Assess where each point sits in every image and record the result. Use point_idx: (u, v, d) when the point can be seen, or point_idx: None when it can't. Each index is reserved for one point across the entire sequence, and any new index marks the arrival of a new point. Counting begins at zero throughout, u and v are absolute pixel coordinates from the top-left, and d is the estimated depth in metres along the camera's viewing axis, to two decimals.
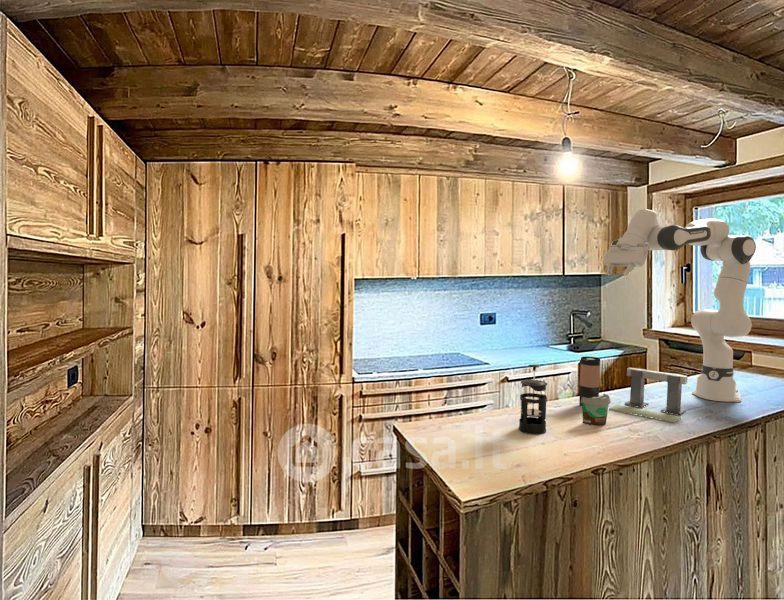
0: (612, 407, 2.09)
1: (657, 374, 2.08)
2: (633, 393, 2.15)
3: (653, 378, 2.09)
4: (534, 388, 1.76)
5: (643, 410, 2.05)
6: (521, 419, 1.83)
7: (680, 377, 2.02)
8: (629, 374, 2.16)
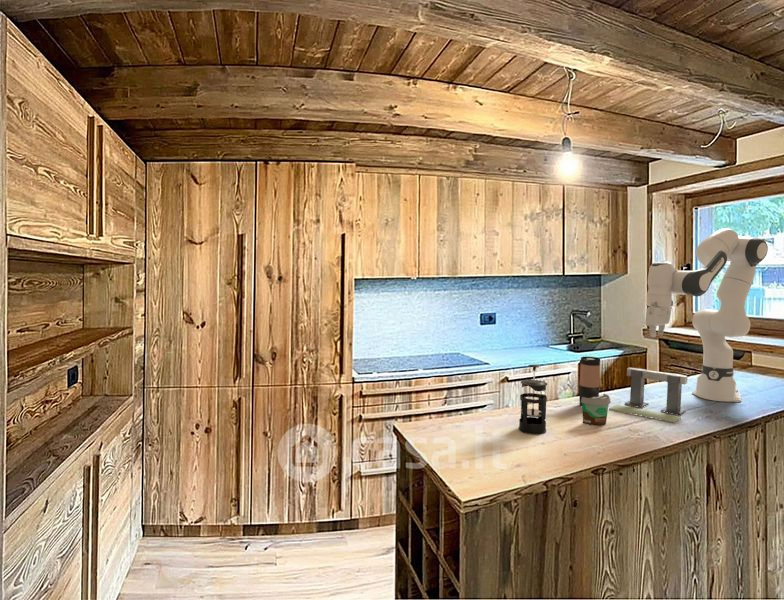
0: (612, 407, 2.09)
1: (657, 374, 2.08)
2: (633, 393, 2.15)
3: (653, 378, 2.09)
4: (534, 388, 1.76)
5: (643, 410, 2.05)
6: (521, 419, 1.83)
7: (680, 377, 2.02)
8: (629, 374, 2.16)
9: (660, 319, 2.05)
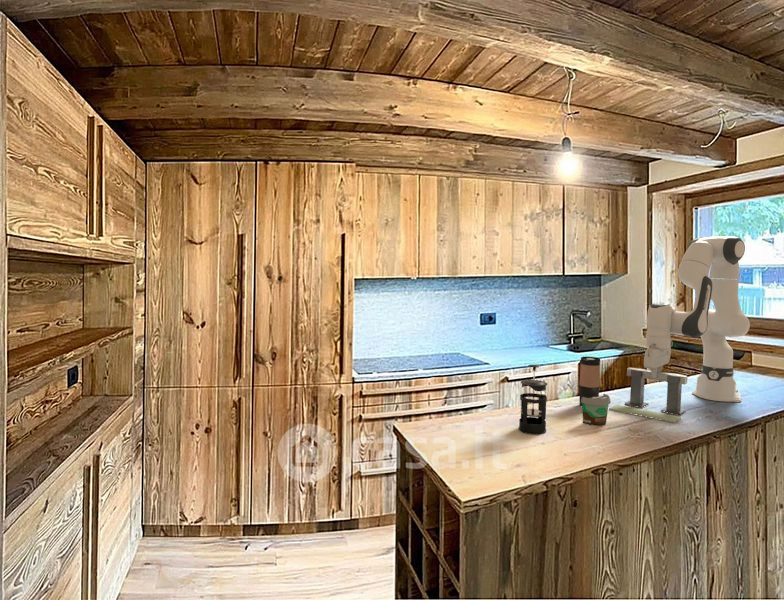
0: (612, 407, 2.09)
1: (657, 374, 2.08)
2: (633, 393, 2.15)
3: (653, 378, 2.09)
4: (534, 388, 1.76)
5: (643, 410, 2.05)
6: (521, 419, 1.83)
7: (680, 377, 2.02)
8: (629, 374, 2.16)
9: (659, 360, 2.06)
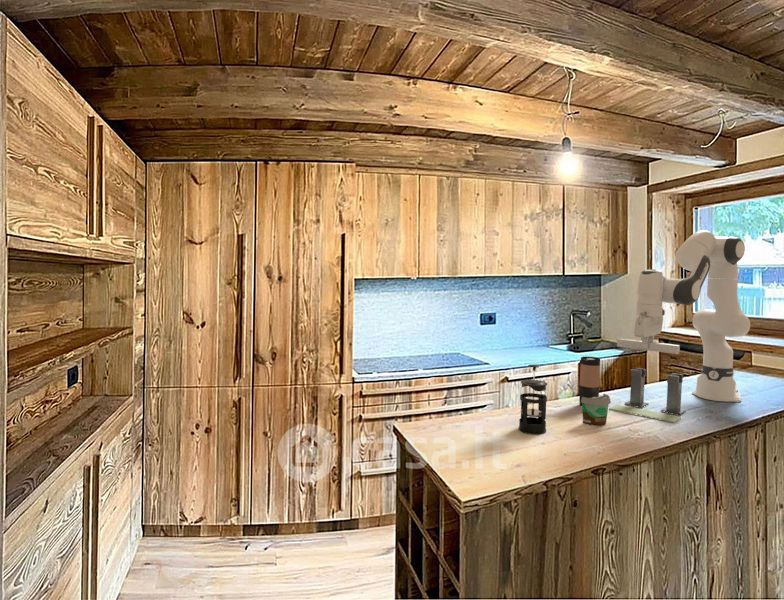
0: (612, 407, 2.09)
1: None
2: (633, 393, 2.15)
3: (644, 348, 2.00)
4: (534, 388, 1.76)
5: (643, 410, 2.05)
6: (521, 419, 1.83)
7: (672, 346, 1.93)
8: (619, 345, 2.07)
9: (650, 329, 1.97)
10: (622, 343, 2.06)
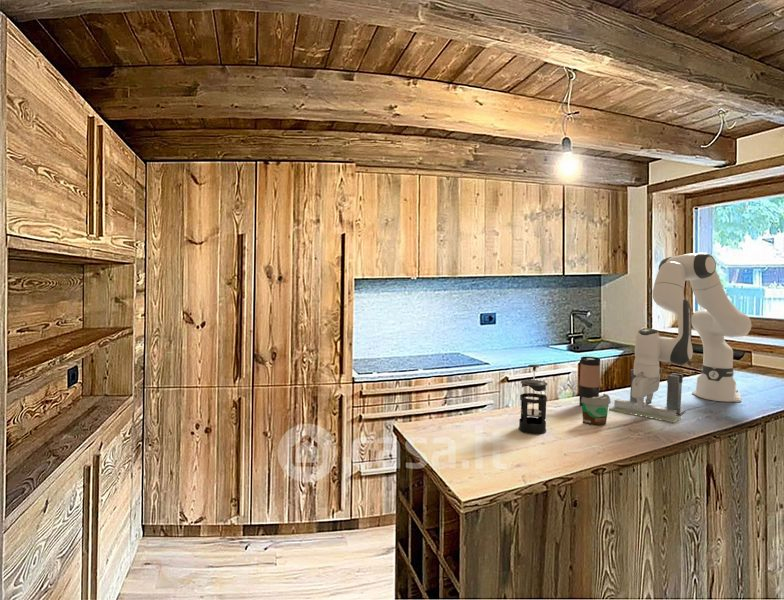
0: (612, 407, 2.09)
1: (645, 407, 2.01)
2: None
3: (641, 411, 2.02)
4: (534, 388, 1.76)
5: None
6: (521, 419, 1.83)
7: (669, 411, 1.95)
8: (617, 406, 2.08)
9: (647, 390, 1.98)
10: (620, 405, 2.07)
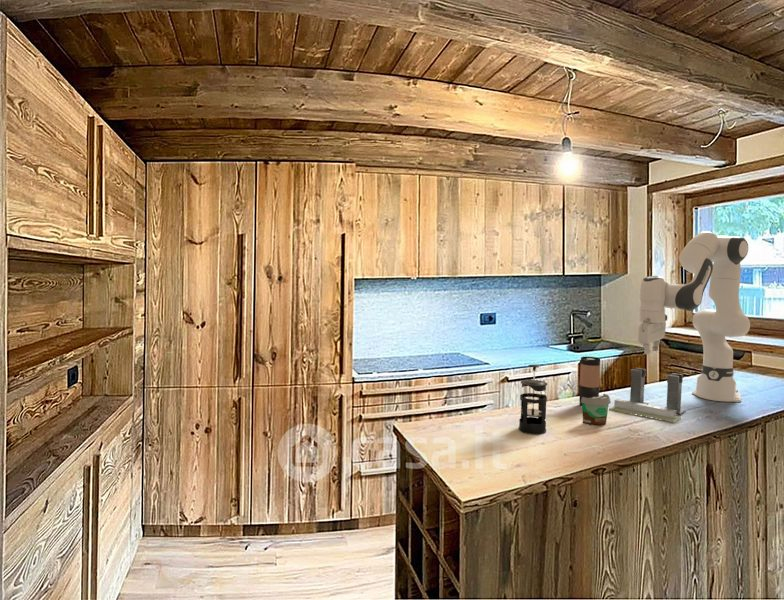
0: (612, 407, 2.09)
1: (645, 407, 2.01)
2: (633, 393, 2.15)
3: (641, 411, 2.02)
4: (534, 388, 1.76)
5: None
6: (521, 419, 1.83)
7: (669, 411, 1.95)
8: (617, 406, 2.08)
9: (654, 335, 2.00)
10: (620, 405, 2.07)
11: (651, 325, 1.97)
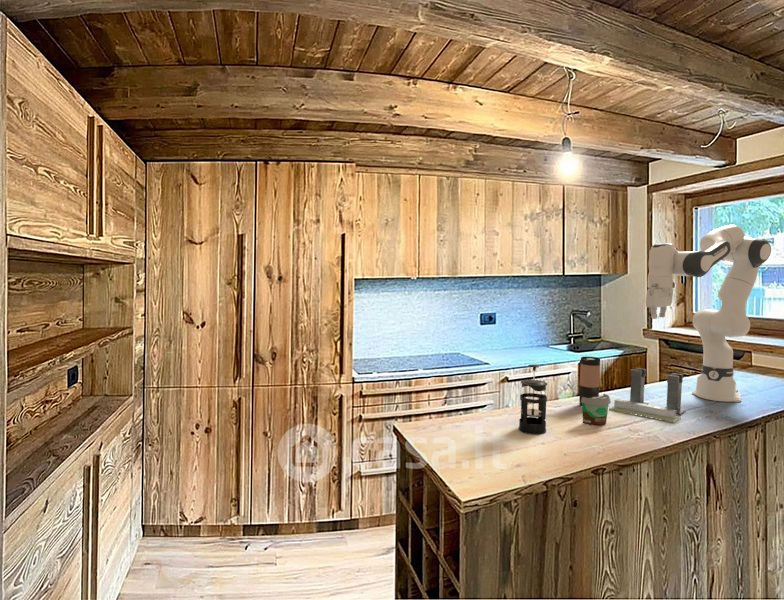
0: (612, 407, 2.09)
1: (645, 407, 2.01)
2: (633, 393, 2.15)
3: (641, 411, 2.02)
4: (534, 388, 1.76)
5: None
6: (521, 419, 1.83)
7: (669, 411, 1.95)
8: (617, 406, 2.08)
9: (661, 300, 2.04)
10: (620, 405, 2.07)
11: (659, 290, 2.01)
